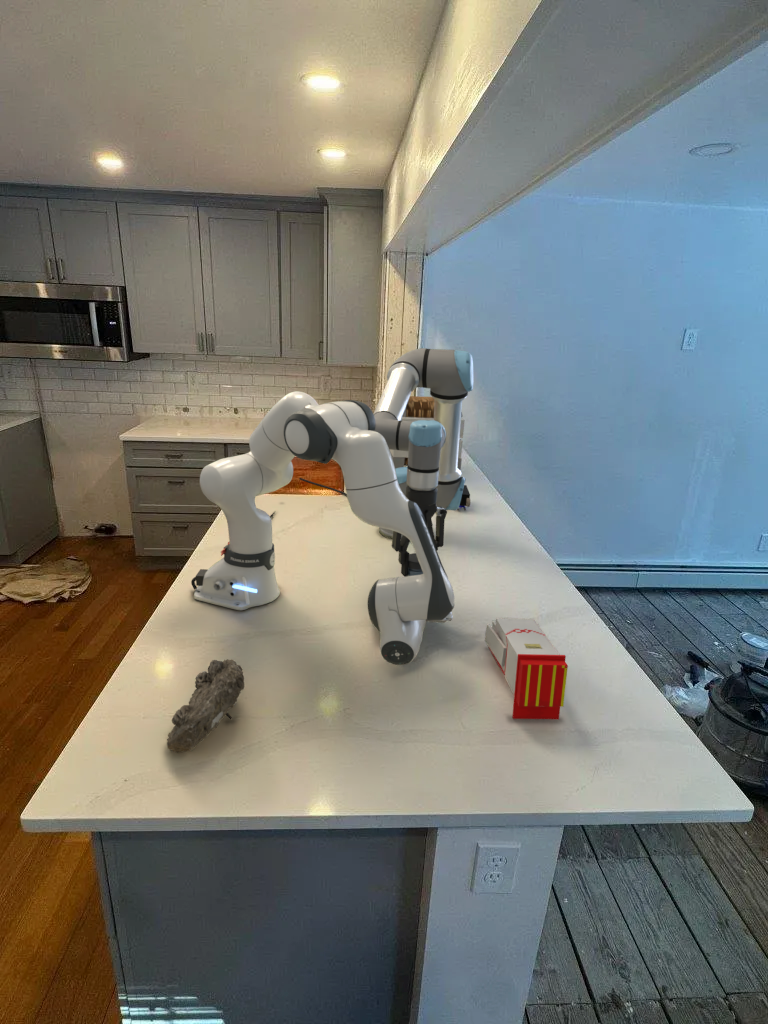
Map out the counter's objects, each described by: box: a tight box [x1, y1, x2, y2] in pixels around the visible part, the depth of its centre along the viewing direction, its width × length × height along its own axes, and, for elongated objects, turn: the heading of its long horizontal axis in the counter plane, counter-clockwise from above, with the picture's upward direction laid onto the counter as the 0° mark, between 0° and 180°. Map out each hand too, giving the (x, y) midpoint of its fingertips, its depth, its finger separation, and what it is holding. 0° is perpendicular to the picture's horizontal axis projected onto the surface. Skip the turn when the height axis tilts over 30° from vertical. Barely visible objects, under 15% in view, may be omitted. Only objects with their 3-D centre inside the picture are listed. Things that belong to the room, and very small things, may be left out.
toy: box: [484, 617, 569, 720], centre depth 122 cm, size 12×13×30 cm
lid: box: [408, 552, 422, 570], centre depth 142 cm, size 6×6×2 cm
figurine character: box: [456, 484, 471, 512], centre depth 229 cm, size 7×8×15 cm
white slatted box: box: [389, 395, 465, 472], centre depth 268 cm, size 34×33×41 cm
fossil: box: [166, 658, 245, 754], centre depth 106 cm, size 22×10×15 cm
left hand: (414, 589), depth 146 cm, fingers closed on jar, 5 cm apart
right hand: (415, 573), depth 144 cm, fingers closed on lid, 6 cm apart
